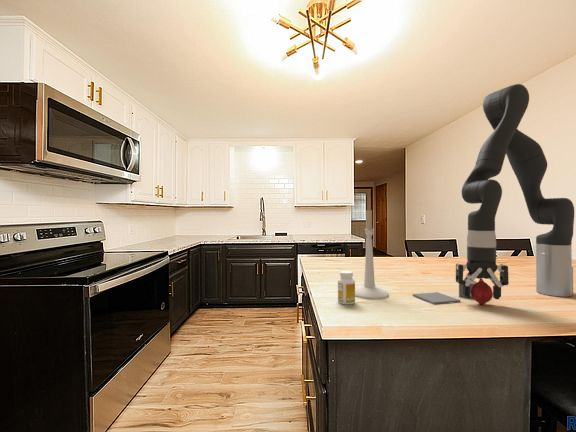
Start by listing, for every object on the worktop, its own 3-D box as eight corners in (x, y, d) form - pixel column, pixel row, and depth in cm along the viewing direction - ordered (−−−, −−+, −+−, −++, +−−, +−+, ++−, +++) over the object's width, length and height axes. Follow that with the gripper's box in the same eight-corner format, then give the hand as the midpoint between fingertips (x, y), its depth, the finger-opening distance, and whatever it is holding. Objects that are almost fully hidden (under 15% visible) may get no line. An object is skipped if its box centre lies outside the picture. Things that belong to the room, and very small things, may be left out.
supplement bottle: (356, 301, 96) (356, 271, 96) (353, 305, 91) (352, 274, 91) (340, 299, 98) (340, 269, 98) (335, 303, 93) (335, 272, 93)
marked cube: (459, 293, 104) (459, 279, 104) (476, 295, 101) (476, 281, 101) (458, 297, 99) (458, 282, 99) (476, 299, 97) (476, 284, 97)
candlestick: (370, 301, 95) (370, 208, 95) (343, 292, 106) (342, 209, 106) (396, 295, 102) (396, 208, 102) (368, 287, 113) (367, 209, 113)
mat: (437, 293, 104) (437, 292, 104) (460, 301, 94) (460, 300, 94) (412, 295, 101) (412, 294, 101) (433, 304, 92) (433, 302, 92)
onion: (496, 308, 88) (496, 281, 88) (475, 307, 89) (475, 280, 89) (487, 302, 93) (487, 277, 93) (467, 301, 94) (467, 276, 94)
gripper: (500, 244, 94) (500, 295, 94) (451, 243, 96) (451, 294, 96) (514, 246, 86) (514, 302, 86) (461, 246, 88) (461, 300, 88)
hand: (481, 298), depth 91 cm, fingers open, 7 cm apart
